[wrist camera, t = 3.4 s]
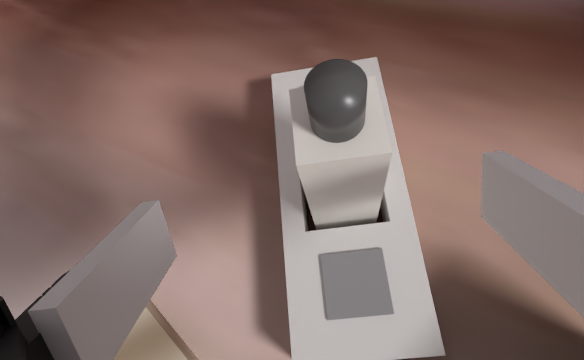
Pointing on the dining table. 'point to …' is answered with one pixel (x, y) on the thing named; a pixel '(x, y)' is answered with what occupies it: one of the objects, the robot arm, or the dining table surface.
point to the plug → (340, 144)
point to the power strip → (352, 261)
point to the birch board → (153, 339)
